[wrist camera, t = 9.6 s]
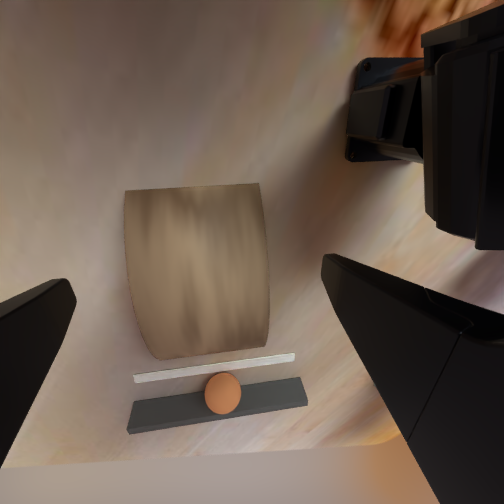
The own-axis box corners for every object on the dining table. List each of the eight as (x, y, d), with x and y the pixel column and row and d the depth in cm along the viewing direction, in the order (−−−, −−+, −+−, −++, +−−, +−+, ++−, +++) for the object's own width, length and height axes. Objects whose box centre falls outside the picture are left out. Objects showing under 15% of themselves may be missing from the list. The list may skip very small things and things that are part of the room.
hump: (237, 138, 34) (271, 164, 15) (243, 275, 45) (268, 395, 25) (160, 141, 33) (91, 173, 14) (185, 281, 43) (164, 411, 24)
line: (294, 352, 30) (294, 354, 30) (293, 359, 30) (294, 361, 30) (133, 374, 28) (133, 376, 27) (136, 381, 28) (135, 383, 28)
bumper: (300, 377, 32) (308, 400, 29) (299, 382, 32) (307, 405, 30) (134, 401, 30) (126, 429, 27) (136, 406, 30) (128, 434, 28)
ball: (237, 384, 31) (245, 416, 28) (204, 393, 30) (208, 427, 27) (235, 361, 29) (244, 391, 26) (200, 369, 28) (205, 403, 25)
